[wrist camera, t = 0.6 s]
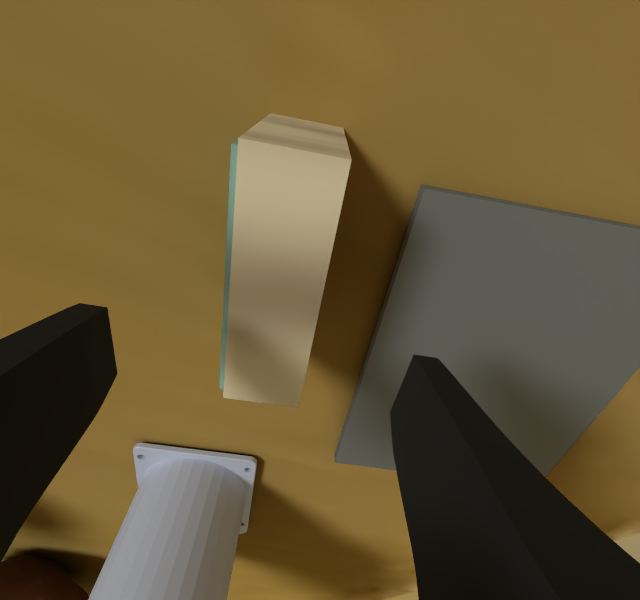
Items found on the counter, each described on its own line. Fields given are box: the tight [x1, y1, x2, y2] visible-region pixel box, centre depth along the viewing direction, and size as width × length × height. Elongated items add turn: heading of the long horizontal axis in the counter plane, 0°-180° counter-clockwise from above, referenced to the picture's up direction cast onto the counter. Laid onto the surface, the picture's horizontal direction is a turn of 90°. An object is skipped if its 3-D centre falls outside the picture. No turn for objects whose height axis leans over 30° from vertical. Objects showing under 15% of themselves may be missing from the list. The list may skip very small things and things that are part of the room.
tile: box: [219, 113, 352, 408], centre depth 14 cm, size 9×3×6 cm, turn 170°
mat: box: [335, 185, 640, 477], centre depth 20 cm, size 18×14×1 cm
